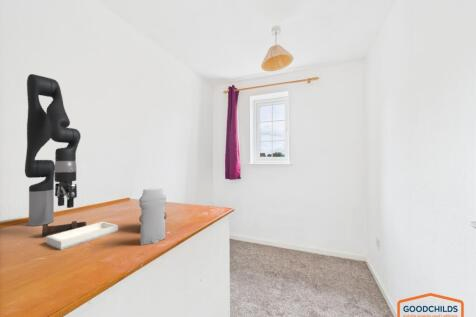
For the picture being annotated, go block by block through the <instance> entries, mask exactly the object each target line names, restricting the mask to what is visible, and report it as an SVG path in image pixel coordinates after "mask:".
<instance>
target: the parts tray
mask: <svg viewBox="0 0 476 317" xmlns="http://www.w3.org/2000/svg"><path fill="white" fill-rule="evenodd" d="M117 232H119V225H118V224H115V223H112V222H111V223H110V222H106V221H100V222H95V223H91V224H86V226H84V227H80V228H76V229H72V230H68V231H63V232H58V233H52V234H48V235H47V236H46V237H45V238H46V242H45V243H46V245H48V246H50V247H53V248H55V249H56V250H60V251H63V250H66V249H69V248H72V247H75V246H79V245H81V244H84V243H86V242H90V241H93V240H96V239H99V238H103V237H105V236H109V235H112V234H114V233H117Z"/></svg>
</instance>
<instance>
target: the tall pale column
mask: <svg viewBox="0 0 476 317" xmlns="http://www.w3.org/2000/svg"><path fill="white" fill-rule="evenodd" d="M139 200H140V202H139V207H140V211H141V212H140V213H141V214H140V216H141V215H142V223H141V224H140V244H139V245H140V246H148V245H151V244H156V243H158V242H161V241H163V240H165V239H166V219H165V220H164V216H165V214H164V213H166V212H165V209H166V203H167V194H165V192H164V188H163V187H157V186H155V187H154V186H153V187H148V188H146V189H145V188H144V189H143V190H142V195H141V196H140V198H139Z"/></svg>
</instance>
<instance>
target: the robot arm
mask: <svg viewBox="0 0 476 317" xmlns="http://www.w3.org/2000/svg"><path fill="white" fill-rule="evenodd" d="M26 94H27V120H26V121H27V122H26V155H25V164H24V174H25V177H27V178H28V179H31V178H32V179H33V178H35V179H36V178H45V179H43V180H41V181H40V182H37V183H34V184H31V185H30V186H29V187H28V226H29V227H30V226H31V227H35V226H43V225H44V224H48V225H49V224H51V223H53V222H54V214H55V213H54V211H55V210H54V209H55V207H54V204H55V197H56V198H57V207H62V206H63V207H64V206H65V198H66V208H67V209H70V208H74V203H75V202H74V200H75V199H76V198H77V197H78V196H77V195H78V193H77V192H78V190H77V187H78V185H77V183H73V182H76V181H77V160H76V159H77V158H76V156H77V155H76V154H77V150H78V147H79V143H80V141H81V137H82V136H81V132H80V130H78V128H74V127H70V125H71V120H70V118H69V116H68V115H67V112H66V109H65V105H64V101H63V100H64V98H63V95H62V90H61V86H60V84H59V82H58V81H57V80H56V79H53V78H50V77H47V76H42V75H39V74H36V73H34V74H33V73H31V74H29V75H28V76H27V79H26ZM39 96H43V97H49V98H51V99H52V101H51V102H50V103H49V105H48V106H47V108H46V110H45V109H44V108H43V107H42V104H41V102H40V97H39ZM50 140H52V141H53V142H56V143H62V144H64V143H65V144H67V145H66V146H65V147H58V148H56V150H55V158H54V161H55V162H54V161H53V160H52V159H36V157H37V155H38V153H39V152H40V150H42V148H43V147H44V146H45V145H46V144H47V143H48V142H49V141H50Z"/></svg>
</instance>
